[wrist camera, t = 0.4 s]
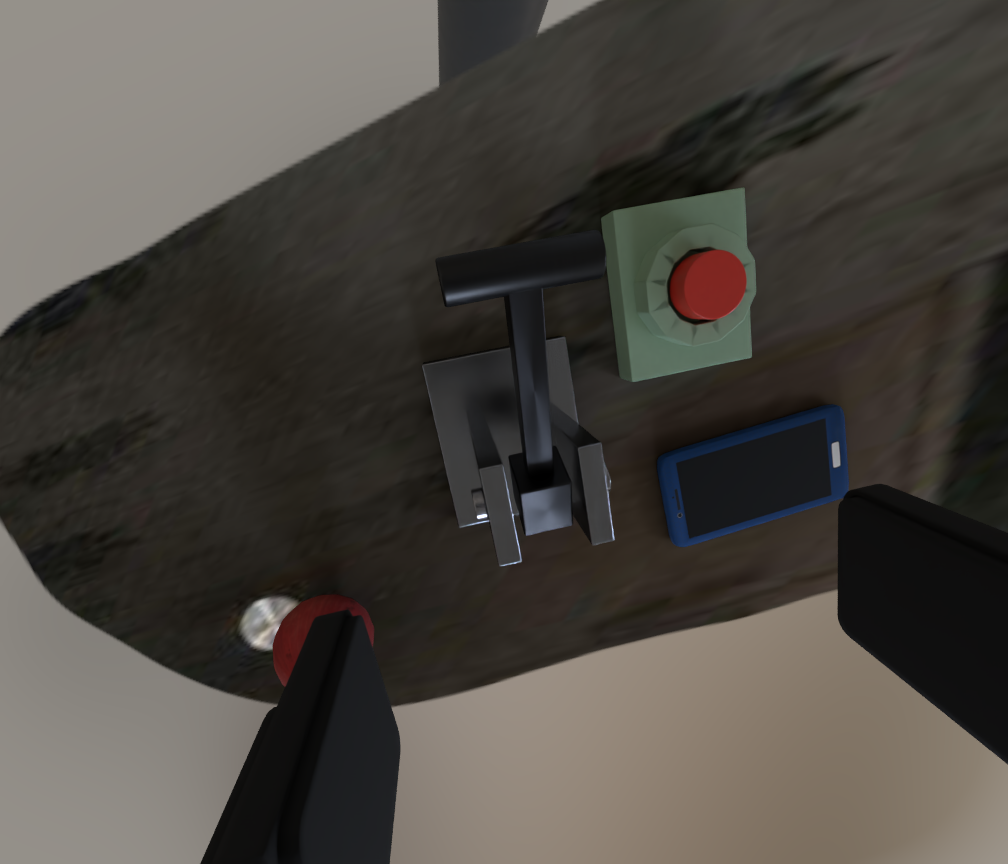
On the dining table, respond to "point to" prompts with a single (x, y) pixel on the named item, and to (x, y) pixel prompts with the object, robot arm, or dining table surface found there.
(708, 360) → the button housing
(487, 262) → the press lever
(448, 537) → the dining table surface
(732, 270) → the red button
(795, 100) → the dining table surface
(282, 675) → the onion
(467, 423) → the lever bracket
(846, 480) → the cell phone
